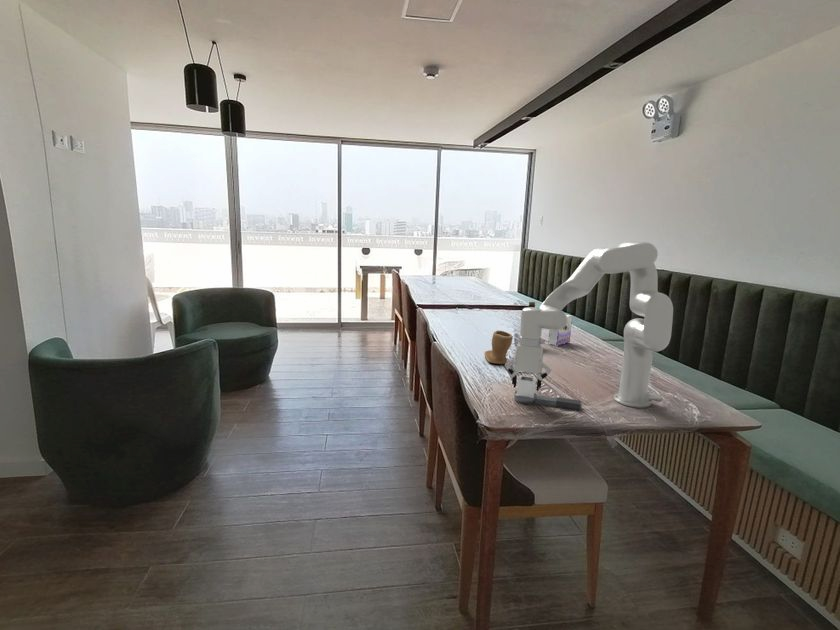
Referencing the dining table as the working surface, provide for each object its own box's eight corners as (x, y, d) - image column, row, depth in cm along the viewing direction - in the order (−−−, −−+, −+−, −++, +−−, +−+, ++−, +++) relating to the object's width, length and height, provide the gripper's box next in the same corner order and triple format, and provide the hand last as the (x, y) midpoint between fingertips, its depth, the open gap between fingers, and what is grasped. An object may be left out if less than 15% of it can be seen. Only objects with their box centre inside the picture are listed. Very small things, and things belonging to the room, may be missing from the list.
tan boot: (512, 366, 198) (514, 335, 195) (487, 365, 198) (489, 334, 195) (507, 357, 213) (509, 328, 210) (484, 356, 213) (485, 327, 210)
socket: (534, 392, 158) (535, 377, 157) (533, 398, 152) (534, 382, 151) (518, 390, 160) (519, 375, 158) (516, 395, 154) (517, 380, 153)
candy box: (561, 341, 250) (563, 313, 247) (570, 343, 246) (572, 315, 242) (547, 344, 241) (550, 316, 238) (556, 346, 237) (559, 317, 234)
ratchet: (580, 404, 154) (582, 387, 153) (581, 412, 147) (583, 395, 145) (515, 395, 161) (516, 379, 160) (513, 402, 154) (514, 385, 153)
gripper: (555, 341, 153) (551, 387, 156) (506, 337, 158) (503, 381, 162) (554, 346, 146) (550, 394, 149) (504, 341, 151) (501, 388, 155)
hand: (526, 387), depth 155 cm, fingers open, 7 cm apart
